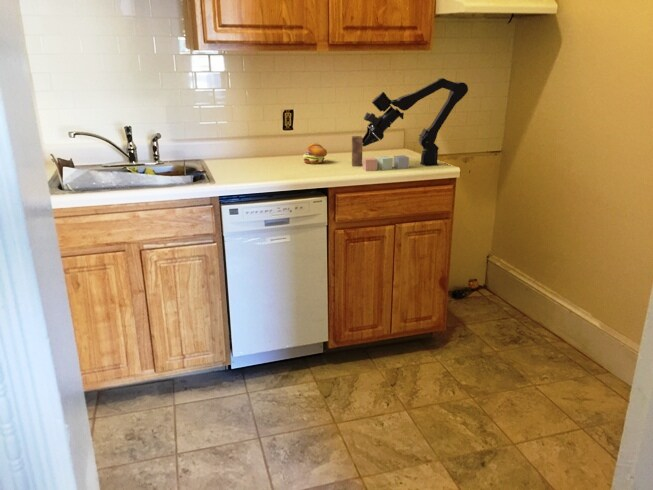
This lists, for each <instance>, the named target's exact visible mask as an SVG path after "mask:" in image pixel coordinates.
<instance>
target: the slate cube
mask: <svg viewBox="0 0 653 490" xmlns="http://www.w3.org/2000/svg"><path fill="white" fill-rule="evenodd" d="M409 164H410V157H409V156H407V155H404V154H402V155H401V154H400V155H393V167H394V168H395V169H397V170H402V169H409V168H410V167H409Z"/></svg>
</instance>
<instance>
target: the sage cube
mask: <svg viewBox="0 0 653 490" xmlns="http://www.w3.org/2000/svg"><path fill="white" fill-rule="evenodd" d="M376 159H377V170H381V171H387V170H393V163H394V157H390V156H387V155H386V156H377V157H376Z"/></svg>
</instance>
